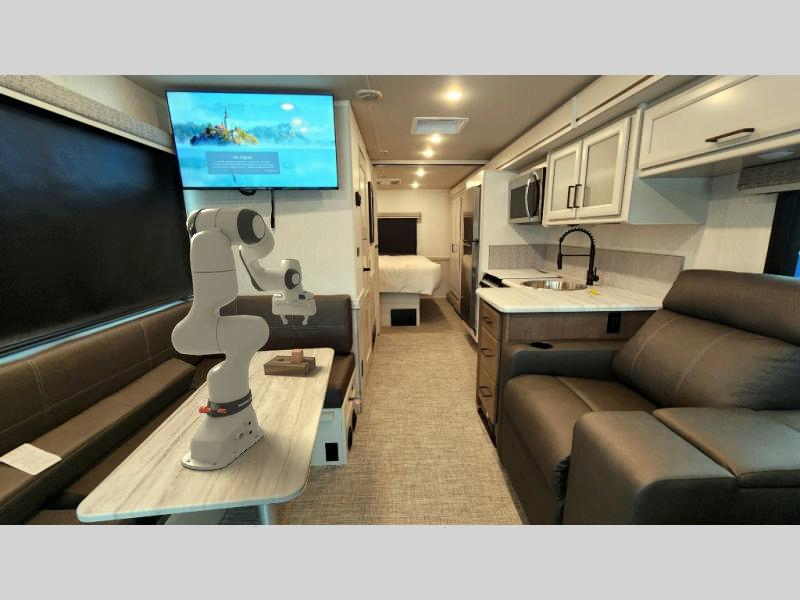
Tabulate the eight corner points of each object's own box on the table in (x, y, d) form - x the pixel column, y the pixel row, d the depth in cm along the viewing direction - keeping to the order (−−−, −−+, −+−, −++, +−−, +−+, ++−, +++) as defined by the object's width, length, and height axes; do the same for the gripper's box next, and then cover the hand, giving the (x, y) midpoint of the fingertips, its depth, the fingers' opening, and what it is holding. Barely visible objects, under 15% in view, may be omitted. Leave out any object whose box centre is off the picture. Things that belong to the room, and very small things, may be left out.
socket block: (305, 376, 142) (304, 366, 141) (264, 374, 144) (263, 364, 144) (315, 366, 153) (315, 356, 152) (278, 364, 156) (277, 354, 155)
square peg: (300, 372, 146) (299, 352, 144) (292, 372, 147) (291, 351, 145) (304, 369, 150) (303, 349, 148) (296, 368, 150) (295, 349, 149)
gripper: (268, 295, 140) (270, 325, 142) (310, 296, 137) (312, 326, 139) (275, 293, 146) (277, 321, 149) (316, 293, 143) (318, 322, 146)
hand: (295, 324), depth 144 cm, fingers open, 8 cm apart
